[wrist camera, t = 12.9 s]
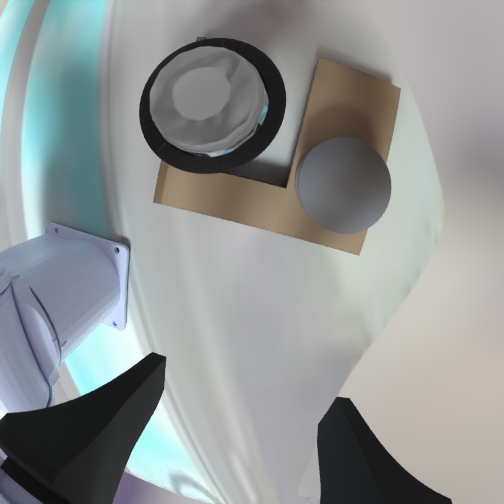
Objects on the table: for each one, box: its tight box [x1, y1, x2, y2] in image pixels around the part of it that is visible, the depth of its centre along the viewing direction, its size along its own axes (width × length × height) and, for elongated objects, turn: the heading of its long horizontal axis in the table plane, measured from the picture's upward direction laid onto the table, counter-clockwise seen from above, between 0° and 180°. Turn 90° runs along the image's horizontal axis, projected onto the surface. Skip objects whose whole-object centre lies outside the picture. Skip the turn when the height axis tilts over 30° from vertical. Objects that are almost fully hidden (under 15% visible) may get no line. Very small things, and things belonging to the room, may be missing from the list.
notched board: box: [153, 37, 401, 255], centre depth 15 cm, size 14×12×4 cm
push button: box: [139, 38, 286, 174], centre depth 12 cm, size 7×5×10 cm
